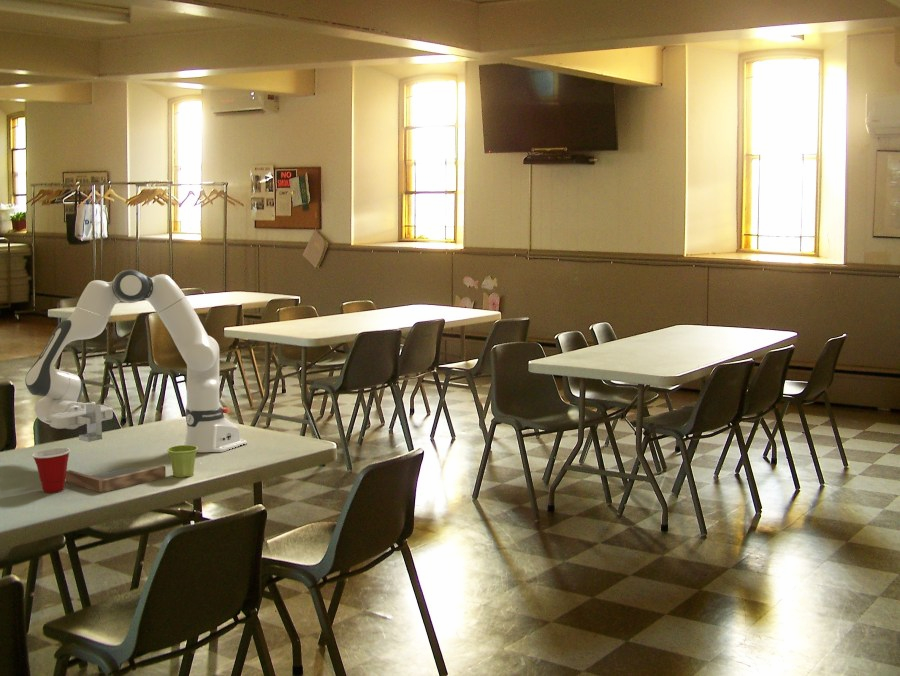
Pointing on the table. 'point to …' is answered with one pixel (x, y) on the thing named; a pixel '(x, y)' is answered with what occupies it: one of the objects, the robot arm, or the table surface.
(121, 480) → the corner walls
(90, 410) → the steel bookend
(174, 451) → the plant pot
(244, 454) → the table surface
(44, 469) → the plastic cup
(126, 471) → the felt mat
